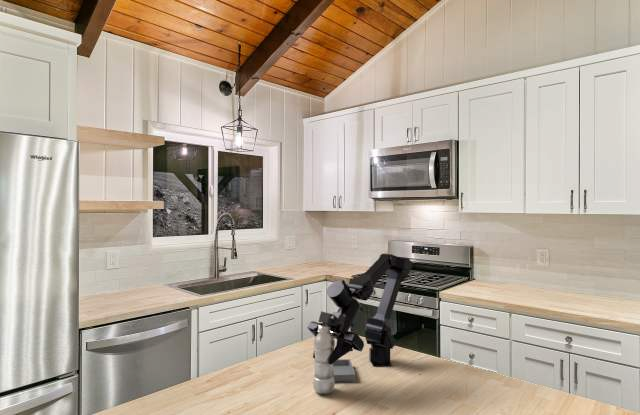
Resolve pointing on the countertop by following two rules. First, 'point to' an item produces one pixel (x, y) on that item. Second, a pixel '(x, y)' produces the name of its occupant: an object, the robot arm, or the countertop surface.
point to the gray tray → (343, 371)
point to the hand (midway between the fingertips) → (321, 361)
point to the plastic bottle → (323, 360)
